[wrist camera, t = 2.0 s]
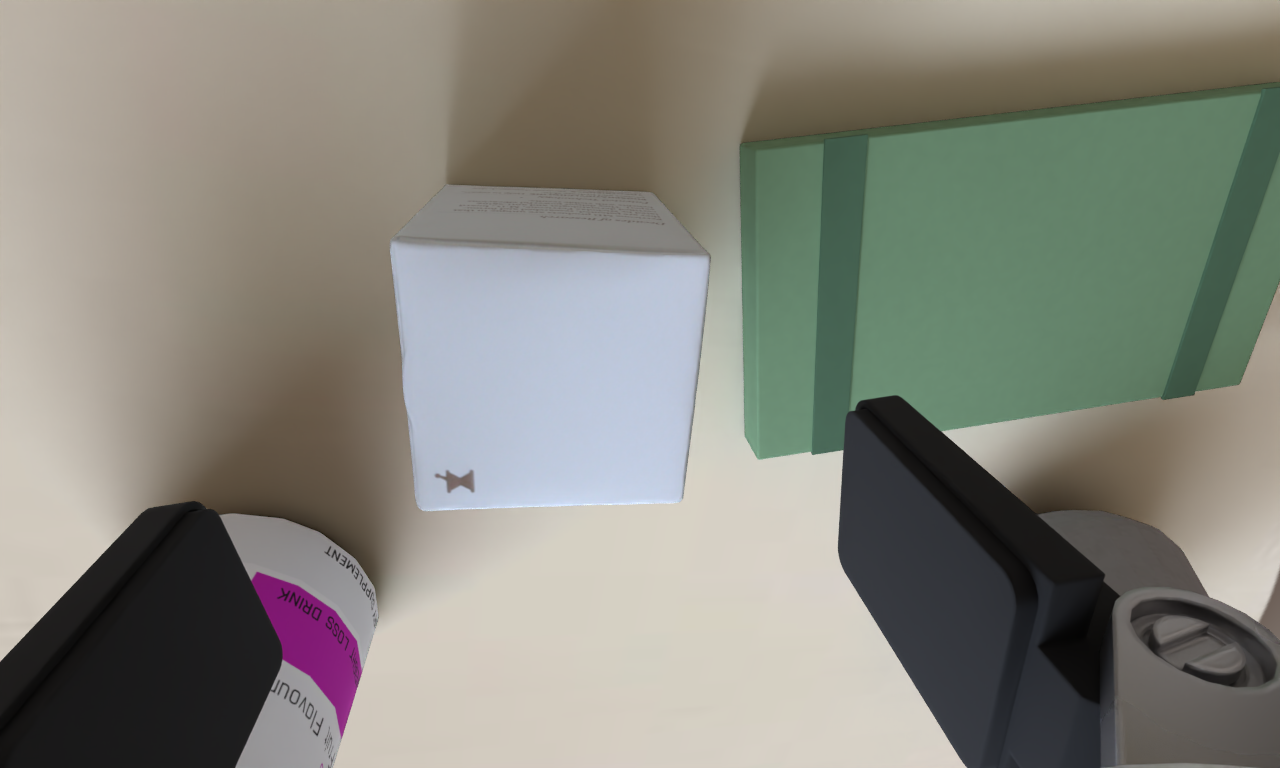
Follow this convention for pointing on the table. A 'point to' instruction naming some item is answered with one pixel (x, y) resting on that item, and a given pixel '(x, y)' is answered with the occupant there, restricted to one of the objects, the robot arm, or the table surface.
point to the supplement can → (305, 638)
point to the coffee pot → (1126, 550)
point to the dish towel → (1007, 262)
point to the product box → (548, 346)
